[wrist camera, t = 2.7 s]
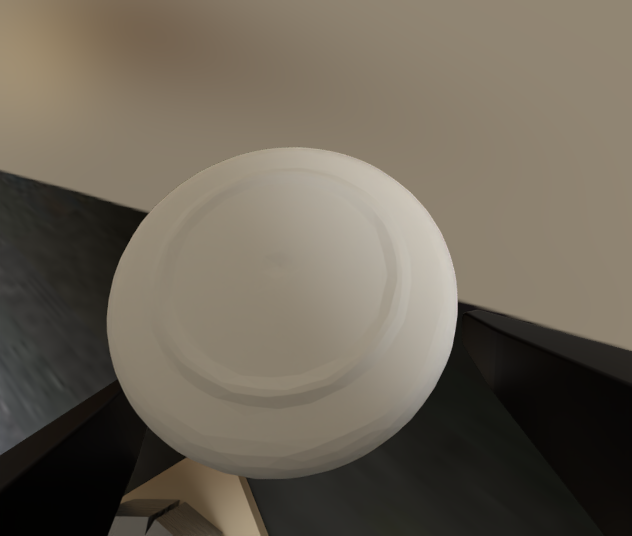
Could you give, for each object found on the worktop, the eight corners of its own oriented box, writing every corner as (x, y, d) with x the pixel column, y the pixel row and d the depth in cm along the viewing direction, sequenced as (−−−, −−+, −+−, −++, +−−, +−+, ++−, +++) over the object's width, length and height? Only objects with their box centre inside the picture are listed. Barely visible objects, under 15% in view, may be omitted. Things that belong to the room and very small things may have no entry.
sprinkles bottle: (380, 396, 15) (563, 324, 3) (301, 450, 15) (158, 622, 2) (331, 320, 17) (334, 94, 5) (258, 364, 16) (53, 217, 4)
